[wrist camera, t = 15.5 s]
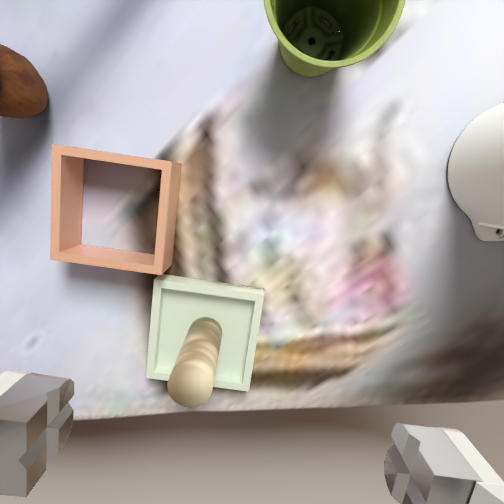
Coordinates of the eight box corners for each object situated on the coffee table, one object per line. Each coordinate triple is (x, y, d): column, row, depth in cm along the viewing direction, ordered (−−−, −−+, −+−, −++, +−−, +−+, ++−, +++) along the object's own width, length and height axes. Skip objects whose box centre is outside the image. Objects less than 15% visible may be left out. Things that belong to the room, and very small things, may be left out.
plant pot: (353, 104, 39) (391, 75, 28) (254, 91, 39) (254, 57, 28) (372, -9, 37) (423, -89, 26) (267, -23, 37) (273, -110, 26)
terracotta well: (181, 163, 41) (171, 161, 36) (171, 264, 44) (161, 275, 39) (76, 148, 41) (52, 143, 36) (73, 250, 43) (50, 259, 39)
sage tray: (263, 288, 44) (264, 294, 42) (248, 380, 47) (248, 391, 45) (159, 273, 44) (154, 279, 42) (151, 367, 47) (145, 377, 45)
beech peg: (224, 319, 44) (214, 369, 33) (220, 349, 45) (210, 409, 34) (190, 315, 44) (169, 364, 32) (187, 345, 45) (165, 404, 33)
